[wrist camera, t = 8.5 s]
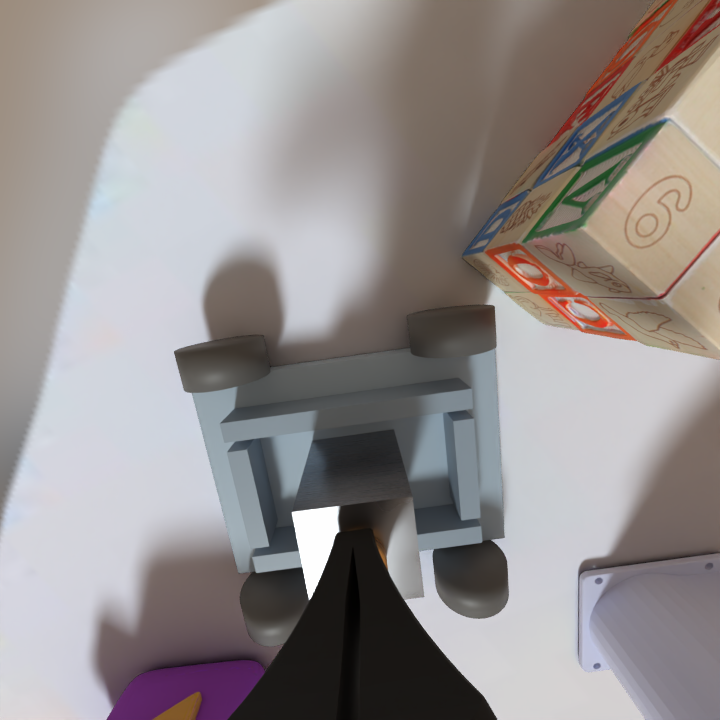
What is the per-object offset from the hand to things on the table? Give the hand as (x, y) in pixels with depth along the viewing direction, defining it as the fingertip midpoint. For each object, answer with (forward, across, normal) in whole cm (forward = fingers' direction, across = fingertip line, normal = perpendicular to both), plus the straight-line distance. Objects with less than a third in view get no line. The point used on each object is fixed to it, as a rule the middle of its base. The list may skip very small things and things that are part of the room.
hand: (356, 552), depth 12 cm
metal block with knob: (+6, 0, 0) cm, 6 cm away
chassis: (+7, 0, 0) cm, 7 cm away
